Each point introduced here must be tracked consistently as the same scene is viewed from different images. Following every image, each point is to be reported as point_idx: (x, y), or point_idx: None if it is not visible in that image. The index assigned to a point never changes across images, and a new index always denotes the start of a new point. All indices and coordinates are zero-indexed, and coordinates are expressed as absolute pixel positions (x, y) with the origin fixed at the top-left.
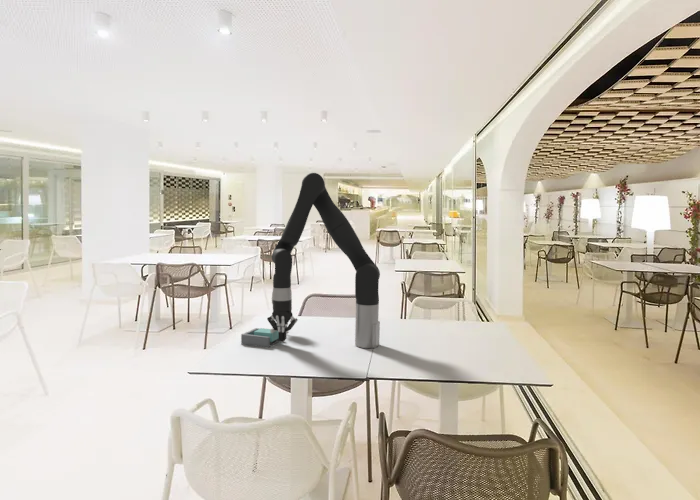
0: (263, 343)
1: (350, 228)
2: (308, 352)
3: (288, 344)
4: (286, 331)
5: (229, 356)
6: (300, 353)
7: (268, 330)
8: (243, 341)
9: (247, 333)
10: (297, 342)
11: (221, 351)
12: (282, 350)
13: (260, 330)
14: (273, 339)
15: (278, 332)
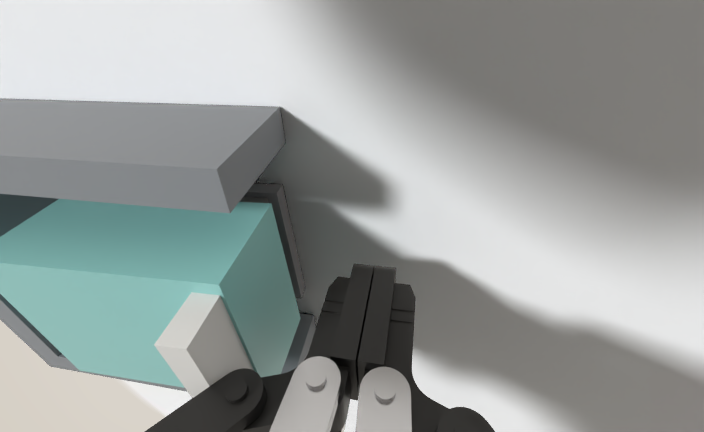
0: None
1: None
2: (698, 381)
3: (436, 231)
4: (415, 389)
5: None
6: (617, 397)
7: (140, 327)
8: None
9: (39, 334)
10: (528, 127)
11: (158, 390)
12: (449, 362)
13: (77, 337)
14: (289, 309)
15: (238, 255)
